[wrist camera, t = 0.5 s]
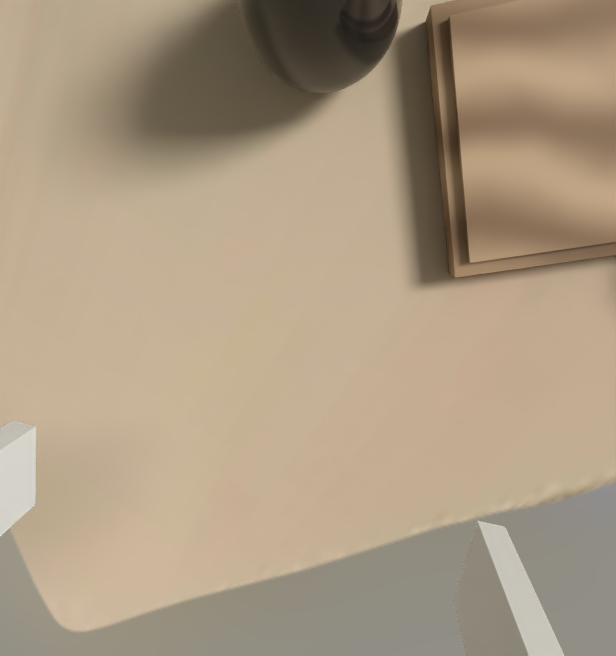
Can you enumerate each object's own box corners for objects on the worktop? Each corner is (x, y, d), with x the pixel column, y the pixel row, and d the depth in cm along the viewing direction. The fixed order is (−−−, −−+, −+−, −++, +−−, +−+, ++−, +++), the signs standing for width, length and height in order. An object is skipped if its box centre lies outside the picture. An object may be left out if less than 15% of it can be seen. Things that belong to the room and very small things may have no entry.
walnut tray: (425, 21, 32) (432, 1, 29) (708, -42, 30) (746, -70, 27) (449, 273, 36) (456, 278, 33) (700, 237, 33) (733, 239, 31)
